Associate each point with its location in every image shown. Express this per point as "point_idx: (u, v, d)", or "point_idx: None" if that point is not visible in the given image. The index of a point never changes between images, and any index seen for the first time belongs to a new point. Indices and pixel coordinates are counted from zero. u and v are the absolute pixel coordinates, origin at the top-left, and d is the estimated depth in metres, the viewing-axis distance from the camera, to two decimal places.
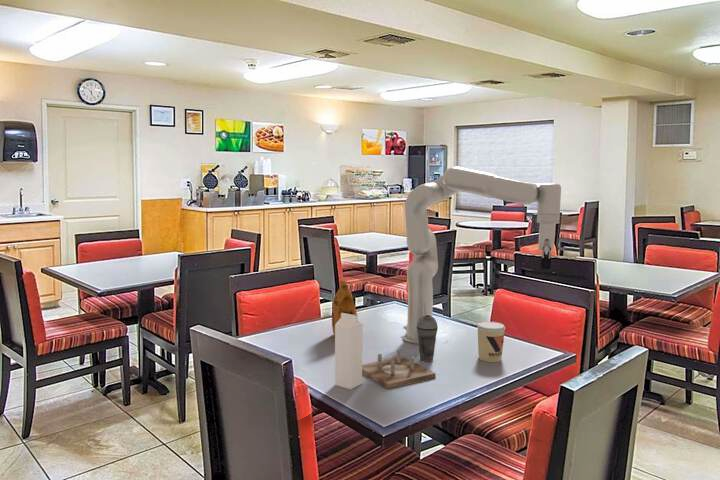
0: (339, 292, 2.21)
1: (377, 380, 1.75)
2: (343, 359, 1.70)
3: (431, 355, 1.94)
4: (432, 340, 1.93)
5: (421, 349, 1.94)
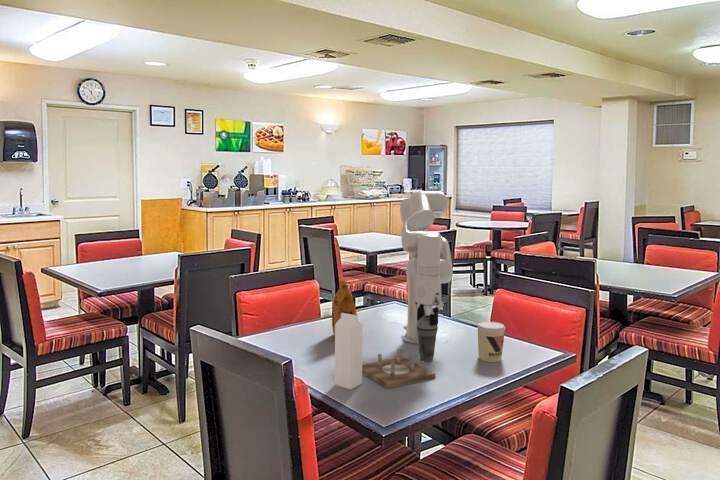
0: (339, 292, 2.21)
1: (377, 380, 1.75)
2: (343, 359, 1.70)
3: (431, 355, 1.94)
4: (432, 340, 1.93)
5: (421, 349, 1.94)
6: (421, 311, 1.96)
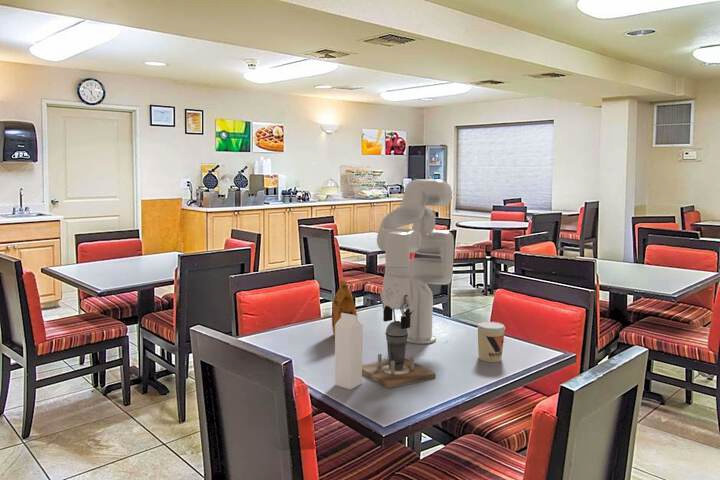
0: (339, 292, 2.21)
1: (377, 380, 1.75)
2: (343, 359, 1.70)
3: (401, 364, 1.80)
4: (402, 348, 1.79)
5: (390, 357, 1.80)
6: (388, 311, 1.84)
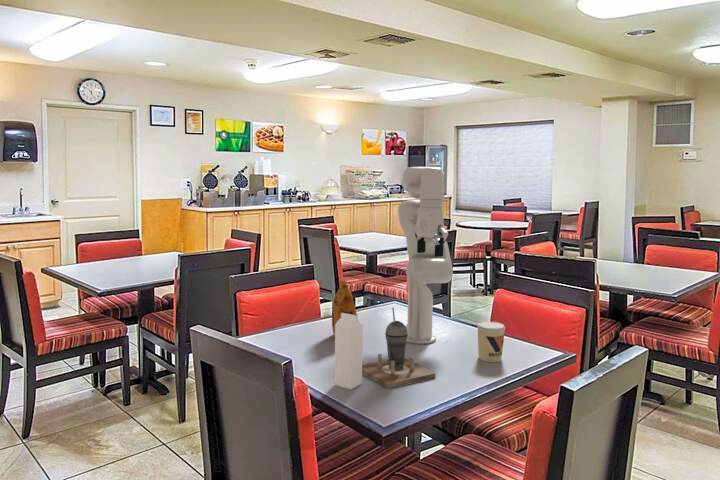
0: (339, 292, 2.21)
1: (377, 380, 1.75)
2: (343, 359, 1.70)
3: (401, 364, 1.80)
4: (401, 348, 1.79)
5: (390, 357, 1.80)
6: (421, 243, 1.98)
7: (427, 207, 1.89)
